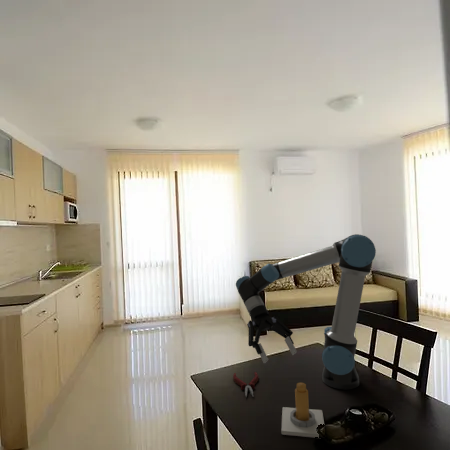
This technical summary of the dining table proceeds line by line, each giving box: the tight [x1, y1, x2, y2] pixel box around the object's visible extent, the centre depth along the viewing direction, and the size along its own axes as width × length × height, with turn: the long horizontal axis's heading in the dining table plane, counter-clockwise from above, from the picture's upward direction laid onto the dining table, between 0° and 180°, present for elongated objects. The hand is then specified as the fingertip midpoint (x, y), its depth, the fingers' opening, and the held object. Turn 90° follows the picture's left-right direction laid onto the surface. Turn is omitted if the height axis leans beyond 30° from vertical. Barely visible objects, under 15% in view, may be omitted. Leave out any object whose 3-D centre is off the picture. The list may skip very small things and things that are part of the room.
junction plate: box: [281, 406, 325, 439], centre depth 109 cm, size 14×14×3 cm
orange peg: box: [294, 382, 310, 421], centre depth 109 cm, size 4×4×12 cm
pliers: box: [232, 371, 260, 399], centre depth 136 cm, size 12×20×3 cm, turn 2°
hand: (280, 357), depth 119 cm, fingers open, 13 cm apart
